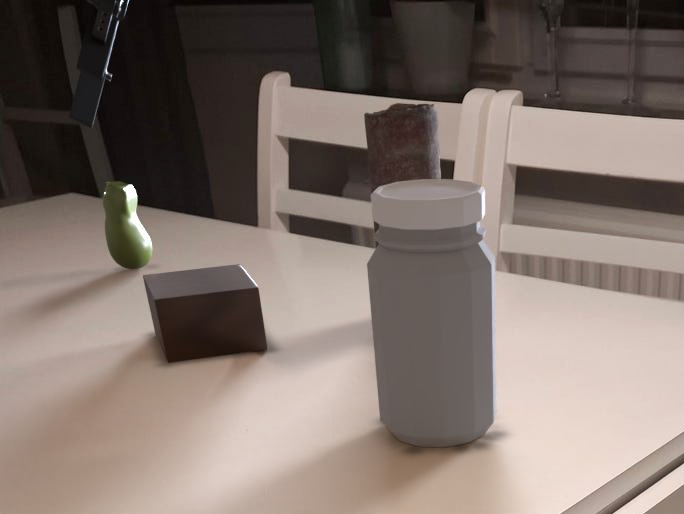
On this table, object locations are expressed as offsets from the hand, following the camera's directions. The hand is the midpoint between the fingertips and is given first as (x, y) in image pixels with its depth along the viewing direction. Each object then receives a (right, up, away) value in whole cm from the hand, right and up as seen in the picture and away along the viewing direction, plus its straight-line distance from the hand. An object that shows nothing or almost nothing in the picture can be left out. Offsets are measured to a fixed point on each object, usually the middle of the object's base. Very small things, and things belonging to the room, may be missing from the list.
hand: (84, 99), depth 116 cm
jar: (+42, -48, -31) cm, 71 cm away
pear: (+1, -14, +13) cm, 19 cm away
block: (+18, -32, -12) cm, 39 cm away
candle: (+38, -28, -6) cm, 48 cm away
